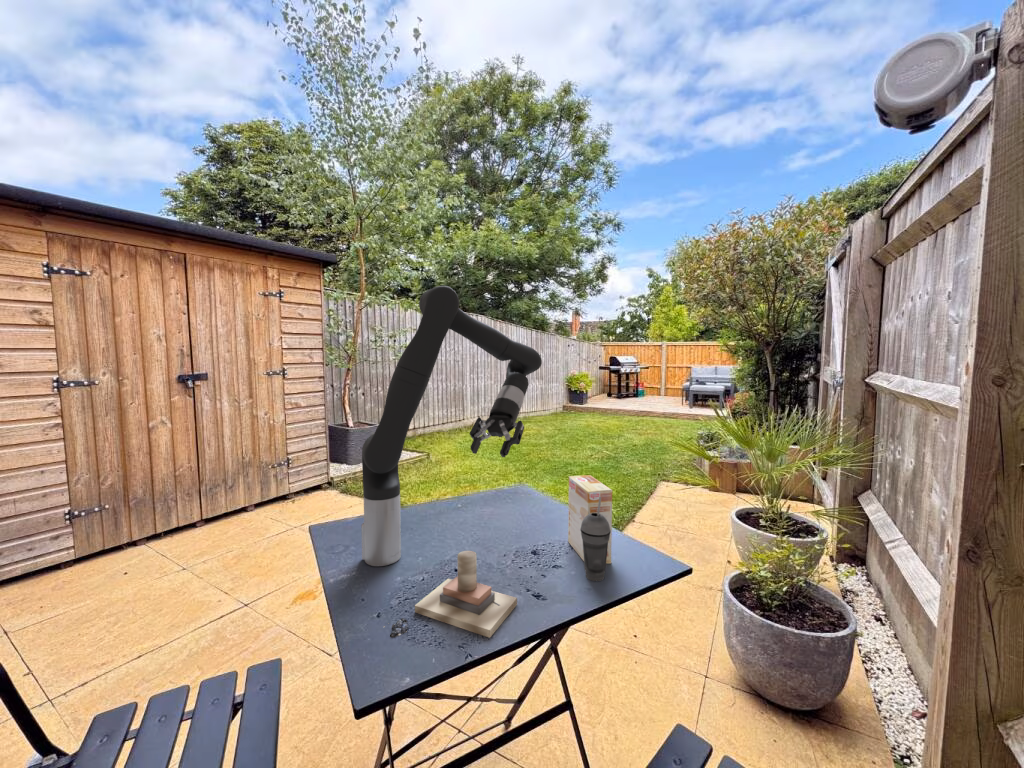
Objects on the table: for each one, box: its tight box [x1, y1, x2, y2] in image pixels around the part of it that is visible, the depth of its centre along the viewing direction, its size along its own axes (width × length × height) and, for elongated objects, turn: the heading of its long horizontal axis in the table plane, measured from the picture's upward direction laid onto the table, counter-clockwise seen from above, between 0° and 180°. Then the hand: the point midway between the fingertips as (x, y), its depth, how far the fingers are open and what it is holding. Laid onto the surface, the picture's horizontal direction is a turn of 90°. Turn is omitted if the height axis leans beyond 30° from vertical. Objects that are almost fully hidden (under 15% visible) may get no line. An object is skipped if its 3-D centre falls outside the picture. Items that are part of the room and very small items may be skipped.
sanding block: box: [440, 550, 495, 615], centre depth 88 cm, size 10×6×10 cm, turn 62°
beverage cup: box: [580, 497, 611, 582], centre depth 101 cm, size 7×7×20 cm
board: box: [414, 578, 518, 638], centre depth 88 cm, size 18×12×2 cm, turn 64°
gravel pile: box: [383, 617, 410, 638], centre depth 82 cm, size 7×8×2 cm
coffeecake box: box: [567, 474, 613, 565], centre depth 114 cm, size 15×7×20 cm, turn 12°
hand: (487, 453), depth 107 cm, fingers open, 8 cm apart
